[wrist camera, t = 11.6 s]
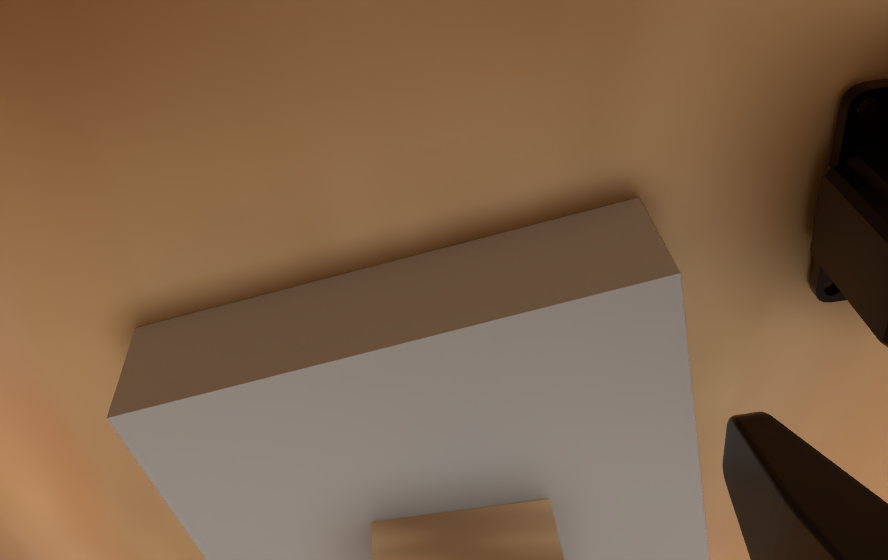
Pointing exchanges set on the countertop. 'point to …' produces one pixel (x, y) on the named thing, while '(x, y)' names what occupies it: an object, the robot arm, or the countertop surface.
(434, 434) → the grey riser
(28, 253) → the countertop surface
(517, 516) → the beech block
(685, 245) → the countertop surface
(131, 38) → the countertop surface
